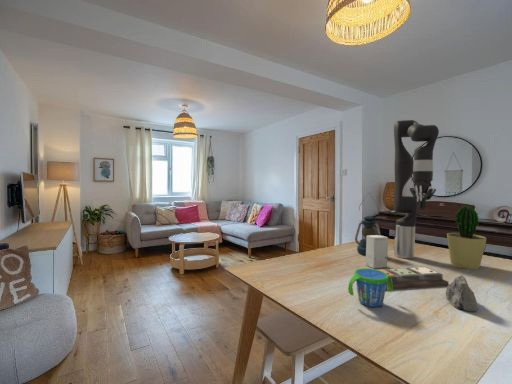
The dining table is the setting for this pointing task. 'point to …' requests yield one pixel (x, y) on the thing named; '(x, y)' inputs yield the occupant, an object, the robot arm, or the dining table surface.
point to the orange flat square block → (386, 272)
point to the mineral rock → (461, 295)
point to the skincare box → (376, 251)
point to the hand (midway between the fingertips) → (421, 209)
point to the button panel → (416, 279)
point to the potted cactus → (466, 240)
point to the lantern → (366, 232)
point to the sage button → (403, 271)
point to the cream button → (424, 270)
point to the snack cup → (371, 286)
